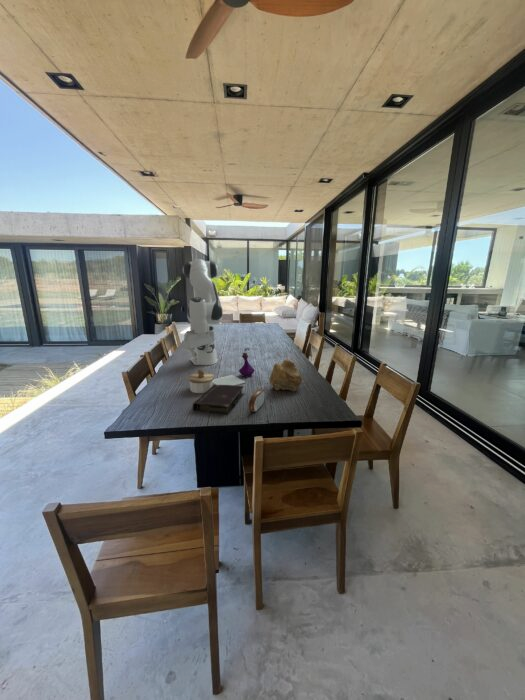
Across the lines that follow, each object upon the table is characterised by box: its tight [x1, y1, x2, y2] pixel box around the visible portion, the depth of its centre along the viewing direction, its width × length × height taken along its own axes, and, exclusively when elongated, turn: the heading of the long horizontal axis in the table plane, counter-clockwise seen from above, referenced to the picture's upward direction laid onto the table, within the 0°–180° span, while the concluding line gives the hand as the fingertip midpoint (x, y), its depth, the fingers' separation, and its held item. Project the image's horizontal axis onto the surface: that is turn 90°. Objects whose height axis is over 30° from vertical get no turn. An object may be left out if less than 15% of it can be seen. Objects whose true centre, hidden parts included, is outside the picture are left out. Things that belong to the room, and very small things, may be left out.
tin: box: [248, 388, 266, 412], centre depth 141 cm, size 15×3×8 cm, turn 158°
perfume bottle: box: [238, 347, 255, 378], centre depth 185 cm, size 8×8×18 cm
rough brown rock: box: [269, 358, 303, 392], centre depth 165 cm, size 23×17×15 cm
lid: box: [187, 368, 215, 383], centre depth 163 cm, size 14×14×5 cm
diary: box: [192, 384, 245, 415], centre depth 148 cm, size 19×25×5 cm
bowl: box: [189, 380, 214, 394], centre depth 164 cm, size 12×12×6 cm
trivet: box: [213, 374, 247, 386], centre depth 175 cm, size 16×16×1 cm
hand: (200, 353), depth 160 cm, fingers open, 8 cm apart
